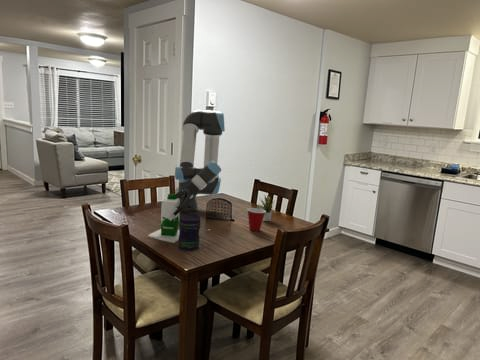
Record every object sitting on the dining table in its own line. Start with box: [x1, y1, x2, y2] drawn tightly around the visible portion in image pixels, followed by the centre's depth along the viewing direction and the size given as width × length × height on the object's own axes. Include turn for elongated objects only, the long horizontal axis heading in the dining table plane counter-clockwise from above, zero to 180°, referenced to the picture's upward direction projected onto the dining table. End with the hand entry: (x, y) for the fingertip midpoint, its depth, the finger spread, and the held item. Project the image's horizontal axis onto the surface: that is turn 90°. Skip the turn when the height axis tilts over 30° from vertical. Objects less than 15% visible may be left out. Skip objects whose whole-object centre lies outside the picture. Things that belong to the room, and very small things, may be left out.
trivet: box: [147, 228, 180, 244], centre depth 179 cm, size 15×15×1 cm
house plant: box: [256, 194, 276, 221], centre depth 217 cm, size 14×14×16 cm
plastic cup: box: [246, 207, 266, 232], centre depth 197 cm, size 11×11×12 cm
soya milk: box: [160, 193, 181, 236], centre depth 177 cm, size 9×9×20 cm
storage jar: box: [177, 213, 202, 252], centre depth 164 cm, size 10×10×15 cm
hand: (165, 215), depth 176 cm, fingers open, 13 cm apart
